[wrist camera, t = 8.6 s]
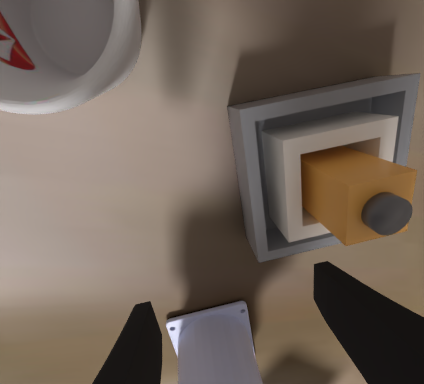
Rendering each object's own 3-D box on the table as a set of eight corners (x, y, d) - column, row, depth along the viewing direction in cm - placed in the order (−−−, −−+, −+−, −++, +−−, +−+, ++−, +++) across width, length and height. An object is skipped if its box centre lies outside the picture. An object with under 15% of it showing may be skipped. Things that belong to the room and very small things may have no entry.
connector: (330, 185, 20) (420, 239, 12) (289, 194, 19) (355, 255, 12) (331, 142, 18) (433, 175, 11) (286, 152, 18) (360, 192, 11)
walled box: (364, 209, 22) (407, 236, 18) (246, 236, 21) (263, 272, 17) (375, 76, 17) (437, 72, 13) (227, 106, 17) (244, 111, 13)
